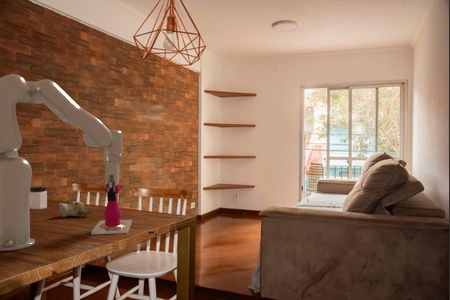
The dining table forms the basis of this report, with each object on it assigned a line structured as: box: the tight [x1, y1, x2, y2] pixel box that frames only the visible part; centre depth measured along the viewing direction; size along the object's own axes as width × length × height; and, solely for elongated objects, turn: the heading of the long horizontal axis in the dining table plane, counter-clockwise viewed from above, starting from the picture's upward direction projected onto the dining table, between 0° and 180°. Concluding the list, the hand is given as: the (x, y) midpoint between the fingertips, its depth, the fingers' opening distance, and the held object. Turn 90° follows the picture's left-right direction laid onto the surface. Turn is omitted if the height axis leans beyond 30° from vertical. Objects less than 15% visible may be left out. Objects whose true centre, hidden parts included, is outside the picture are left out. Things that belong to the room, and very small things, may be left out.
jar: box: [30, 185, 48, 210], centre depth 193 cm, size 9×8×12 cm
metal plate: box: [90, 219, 133, 236], centre depth 149 cm, size 20×14×1 cm
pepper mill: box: [103, 183, 122, 226], centre depth 148 cm, size 7×7×20 cm
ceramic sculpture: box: [58, 199, 93, 218], centre depth 173 cm, size 11×9×15 cm
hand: (113, 199), depth 149 cm, fingers open, 8 cm apart
